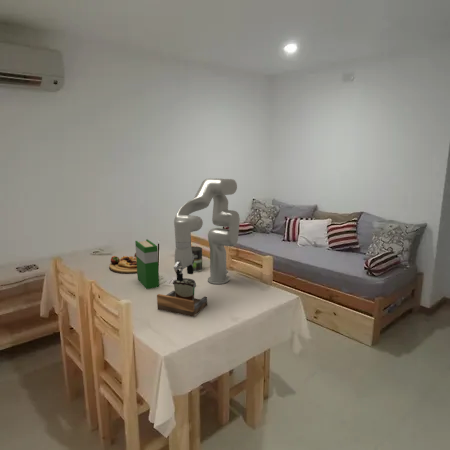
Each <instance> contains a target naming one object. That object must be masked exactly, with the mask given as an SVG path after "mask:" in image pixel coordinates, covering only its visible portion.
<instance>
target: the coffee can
mask: <svg viewBox="0 0 450 450" xmlns="http://www.w3.org/2000/svg"><path fill="white" fill-rule="evenodd" d="M191 248H192V255H193V256H194V263H193V266H192V267H193V273H198V272H202V271H203V248H202V247H200V246H191Z"/></svg>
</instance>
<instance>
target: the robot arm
mask: <svg viewBox="0 0 450 450" xmlns="http://www.w3.org/2000/svg"><path fill="white" fill-rule="evenodd" d="M237 189H238V183H237V181H236V179H233V178H206V179H204V180H203V181H202V182H201V184H200V186H199V187H198V190H197V191H196V194H195V195H194V197H193V198H192V199H190V200H188V201H187V202H185V203H184V204H183V205H181V206H180V208H179V209H178V211H177V213H176V215H175V216H174V220H173V225H174V239H175V240H174V242H175V250H174V266H173V269H174V272H175V274H176V280H177V281H181V282H182V281H183V278H184V276H183V275H184V274H183V270H184V269H186V272H187V274H188V275H194V272H193V267H192V266H193V263H194V256H193V255H192V248H191V247H192V234H191V233H193V232H197V231H199V230H200V229H202V227H203V225H204V223H203V221H204V220H203V219H202V218H201V217H200V216H198V215H192V213H193V214H194V213H195V212H199V211H201V210H205V209H207V208H208V207H209V206H210V204H211V202H212V200H213V205H212V206H213V207H212V220H211V221H212V224H213V225H215V226H217V227H218V228H217V227H216V228H211V229H210V230H208V233H207V240H208V245H209V267H210V268H209V270H210V271H209V273H210V274H209V275H210V276H209V277H208V278H207V282H208V283H210V284H212V285H223V284H227V283H229V281H230V278H229V277H228V276H227V275H228V273H229V270H228V269H227V250H226V248H225V247H235V246H237V243H238V240H239V232H240V224H241V223H240V222H241V221H240V214H239V212H238V211H237V210H229V199H228V197H227V196H229V195H230V196H231V195H234V194H235V193H236V192H237ZM219 227H226V228H228V229H226V228H219Z"/></svg>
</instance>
